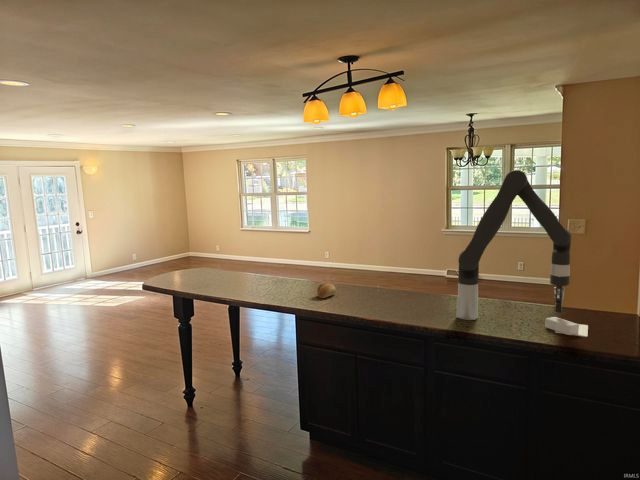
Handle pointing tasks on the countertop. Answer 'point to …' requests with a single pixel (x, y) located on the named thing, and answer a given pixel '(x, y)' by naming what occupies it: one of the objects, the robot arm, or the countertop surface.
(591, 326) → the countertop surface
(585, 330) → the mat
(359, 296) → the countertop surface
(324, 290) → the bread roll
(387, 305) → the countertop surface
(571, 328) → the skincare box
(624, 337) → the countertop surface
